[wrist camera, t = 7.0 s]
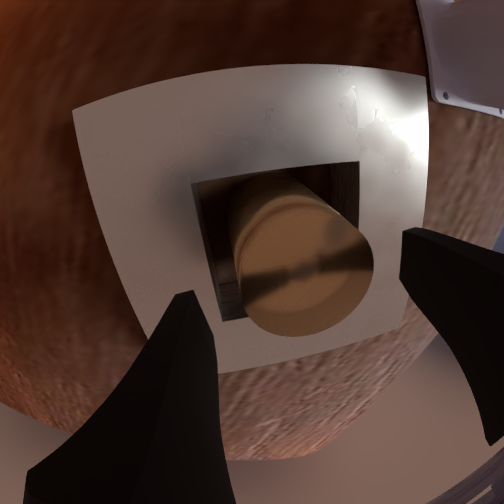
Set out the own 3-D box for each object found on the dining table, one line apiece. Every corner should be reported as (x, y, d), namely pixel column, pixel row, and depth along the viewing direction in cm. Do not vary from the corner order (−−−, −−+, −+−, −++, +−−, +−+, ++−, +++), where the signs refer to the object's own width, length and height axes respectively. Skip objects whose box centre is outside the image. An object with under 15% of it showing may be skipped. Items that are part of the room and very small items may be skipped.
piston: (301, 160, 13) (367, 198, 7) (320, 239, 15) (375, 308, 9) (213, 190, 13) (219, 250, 7) (242, 267, 15) (264, 352, 10)
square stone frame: (387, 78, 11) (425, 76, 8) (378, 299, 18) (400, 327, 15) (101, 109, 10) (72, 110, 7) (172, 342, 17) (169, 379, 14)
